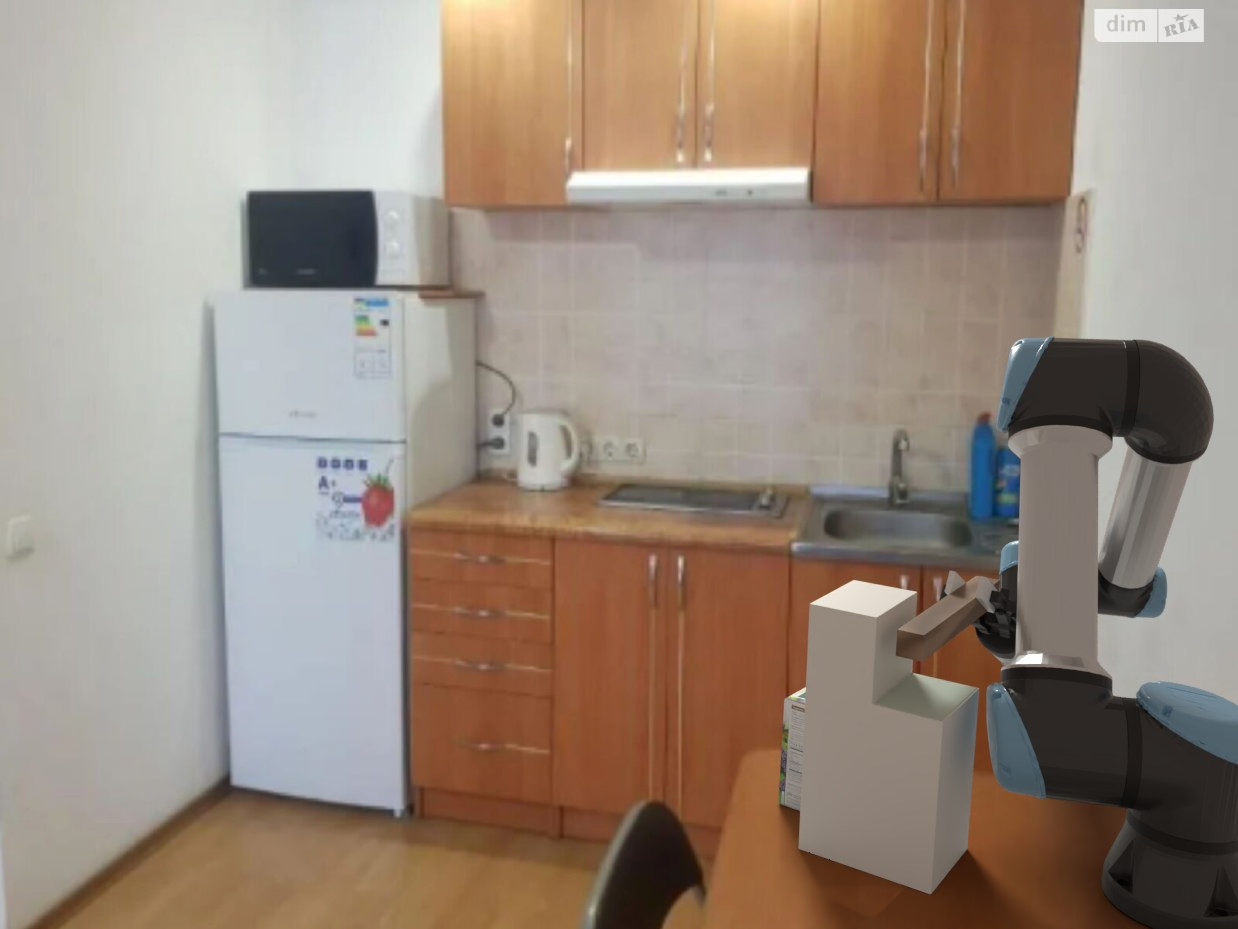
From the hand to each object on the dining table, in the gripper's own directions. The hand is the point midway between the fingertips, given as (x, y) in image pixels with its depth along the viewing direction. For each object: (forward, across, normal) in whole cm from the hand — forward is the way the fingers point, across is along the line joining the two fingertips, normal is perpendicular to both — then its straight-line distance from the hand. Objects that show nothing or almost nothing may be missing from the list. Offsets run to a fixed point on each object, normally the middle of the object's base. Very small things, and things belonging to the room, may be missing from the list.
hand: (965, 584), depth 134 cm
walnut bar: (+2, 0, -6) cm, 6 cm away
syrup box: (-9, +16, -30) cm, 35 cm away
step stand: (-4, +4, -32) cm, 33 cm away
